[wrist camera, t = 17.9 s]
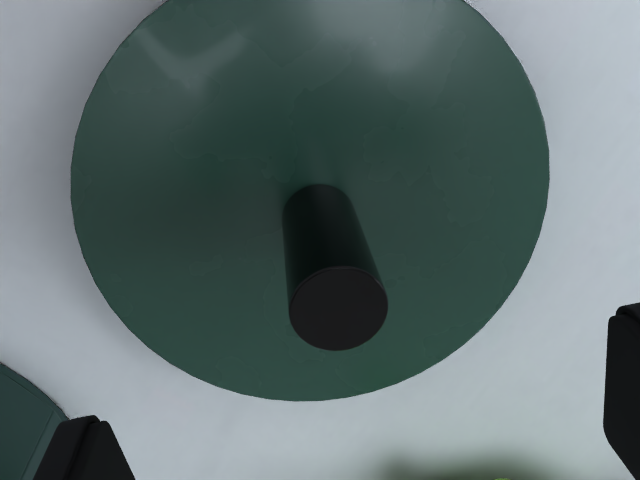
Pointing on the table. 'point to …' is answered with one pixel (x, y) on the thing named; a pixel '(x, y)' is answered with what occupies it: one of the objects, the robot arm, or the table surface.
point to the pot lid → (309, 188)
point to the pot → (24, 426)
